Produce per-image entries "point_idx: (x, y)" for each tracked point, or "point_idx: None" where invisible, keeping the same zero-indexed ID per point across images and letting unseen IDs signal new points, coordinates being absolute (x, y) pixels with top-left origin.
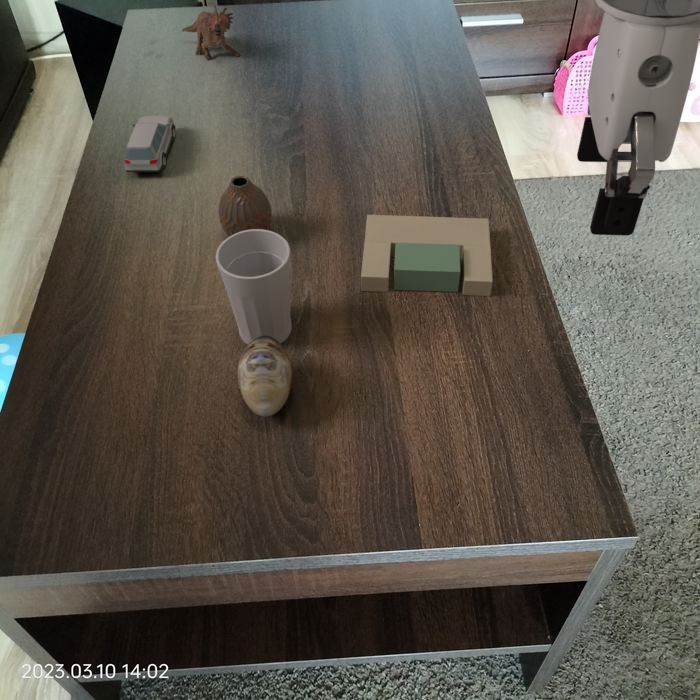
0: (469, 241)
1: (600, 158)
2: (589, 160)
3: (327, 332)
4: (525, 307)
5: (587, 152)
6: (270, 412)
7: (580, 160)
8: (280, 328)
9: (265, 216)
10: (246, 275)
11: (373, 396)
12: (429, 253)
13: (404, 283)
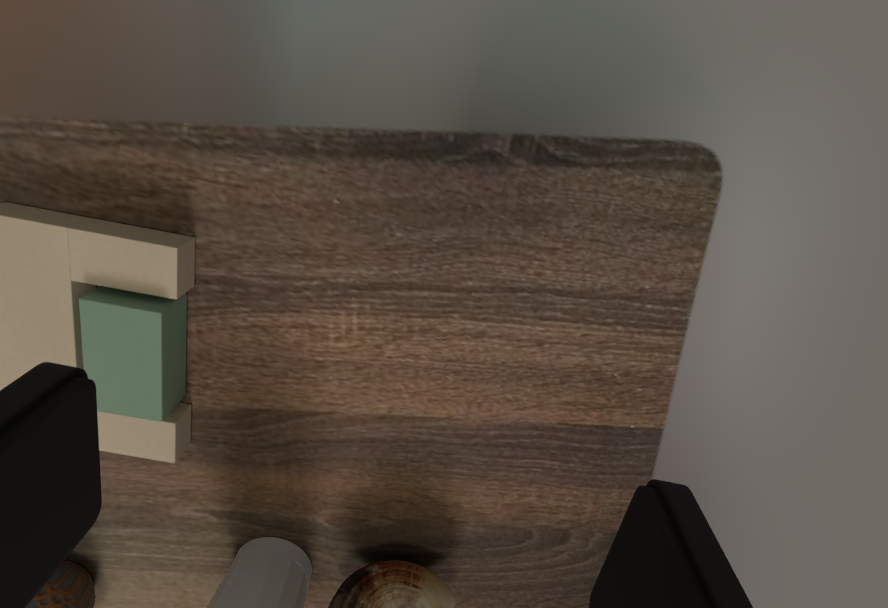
0: (57, 266)
1: (85, 449)
2: (95, 480)
3: (283, 494)
4: (224, 176)
5: (66, 532)
6: (454, 600)
7: (97, 513)
8: (292, 573)
9: (47, 600)
10: None
11: (412, 451)
12: (112, 358)
13: (178, 388)
